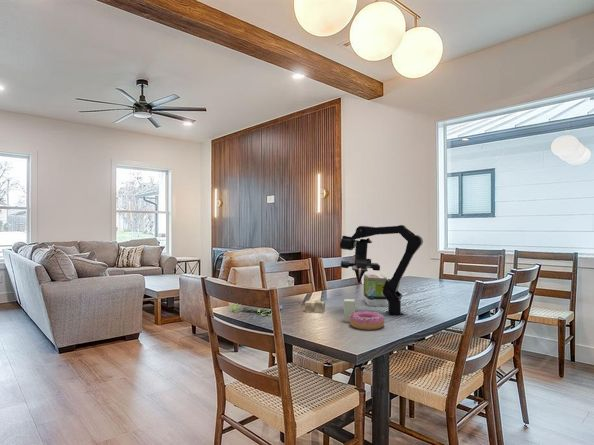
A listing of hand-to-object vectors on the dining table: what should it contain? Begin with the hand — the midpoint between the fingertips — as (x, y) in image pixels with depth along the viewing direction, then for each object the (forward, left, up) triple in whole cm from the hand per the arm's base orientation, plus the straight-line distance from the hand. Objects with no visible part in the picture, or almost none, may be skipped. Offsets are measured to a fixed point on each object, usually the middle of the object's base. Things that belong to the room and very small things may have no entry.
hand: (358, 282), depth 185 cm
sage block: (-19, +9, -13) cm, 25 cm away
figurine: (+5, +50, -14) cm, 52 cm away
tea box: (+15, -13, -14) cm, 24 cm away
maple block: (-2, +17, -11) cm, 21 cm away
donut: (-28, +4, -14) cm, 32 cm away
